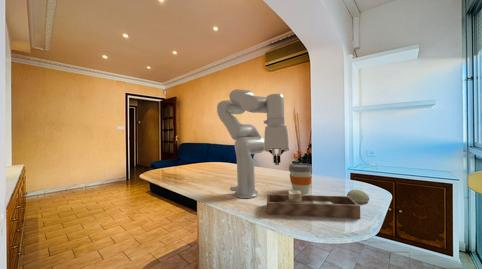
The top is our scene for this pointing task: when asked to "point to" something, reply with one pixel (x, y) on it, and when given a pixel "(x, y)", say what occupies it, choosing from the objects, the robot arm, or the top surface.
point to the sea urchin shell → (358, 196)
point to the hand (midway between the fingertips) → (277, 164)
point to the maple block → (295, 196)
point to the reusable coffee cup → (300, 177)
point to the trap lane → (313, 206)
